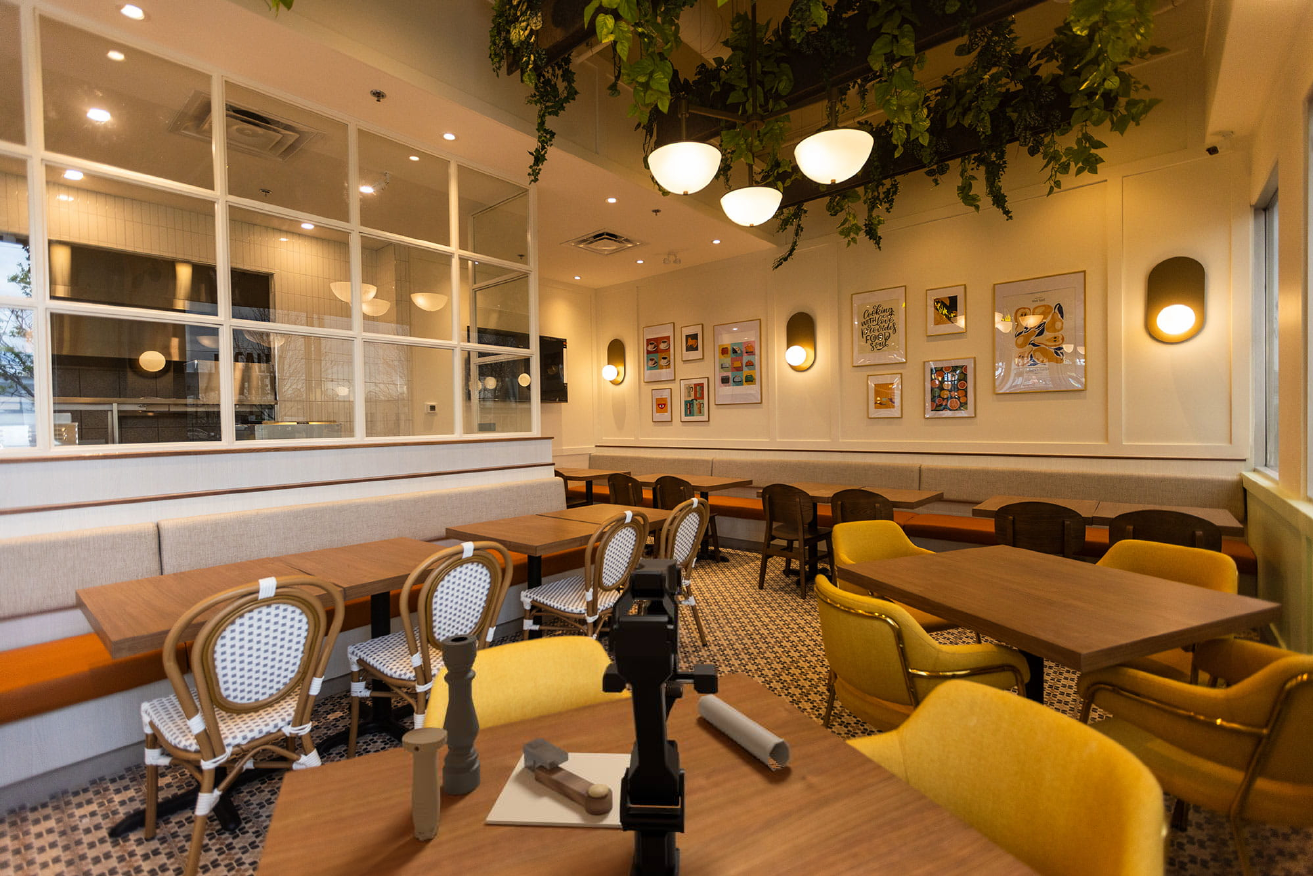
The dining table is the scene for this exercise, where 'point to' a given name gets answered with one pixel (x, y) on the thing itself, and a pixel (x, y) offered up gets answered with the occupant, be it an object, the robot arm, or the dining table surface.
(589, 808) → the link
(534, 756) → the block
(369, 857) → the dining table surface
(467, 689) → the candle holder
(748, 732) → the tube
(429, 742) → the handle
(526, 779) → the pivot plate
